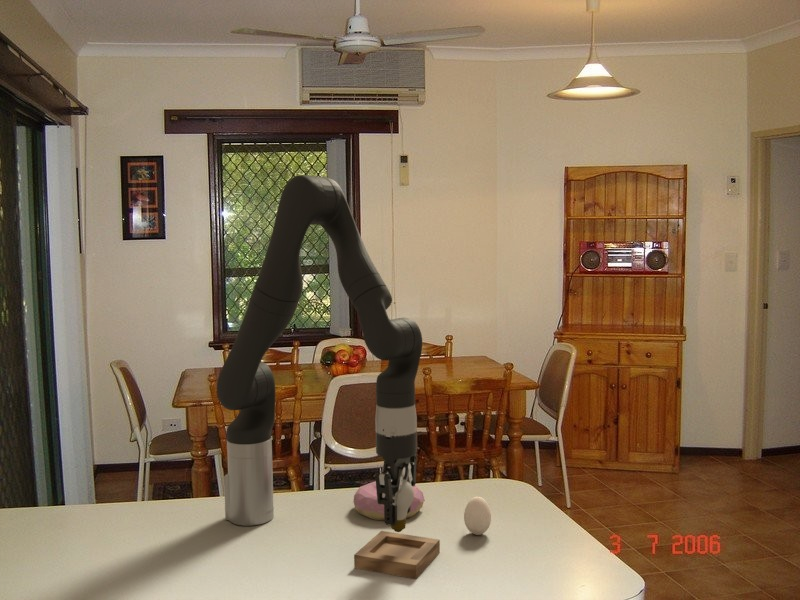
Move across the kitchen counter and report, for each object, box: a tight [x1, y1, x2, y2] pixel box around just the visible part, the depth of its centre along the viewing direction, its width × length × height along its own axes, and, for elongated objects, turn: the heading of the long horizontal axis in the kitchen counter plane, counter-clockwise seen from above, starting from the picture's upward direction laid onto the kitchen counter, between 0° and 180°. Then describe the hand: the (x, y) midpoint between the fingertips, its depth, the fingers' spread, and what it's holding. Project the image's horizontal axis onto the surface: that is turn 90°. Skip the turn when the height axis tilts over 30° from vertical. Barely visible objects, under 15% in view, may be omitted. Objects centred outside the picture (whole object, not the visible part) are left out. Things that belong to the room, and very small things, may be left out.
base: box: [353, 530, 441, 580], centre depth 148 cm, size 12×12×2 cm
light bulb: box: [382, 480, 414, 533], centre depth 147 cm, size 6×6×10 cm
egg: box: [463, 496, 492, 536], centre depth 159 cm, size 5×5×8 cm
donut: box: [353, 480, 426, 521], centre depth 173 cm, size 16×15×5 cm
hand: (397, 518), depth 147 cm, fingers closed on light bulb, 5 cm apart
